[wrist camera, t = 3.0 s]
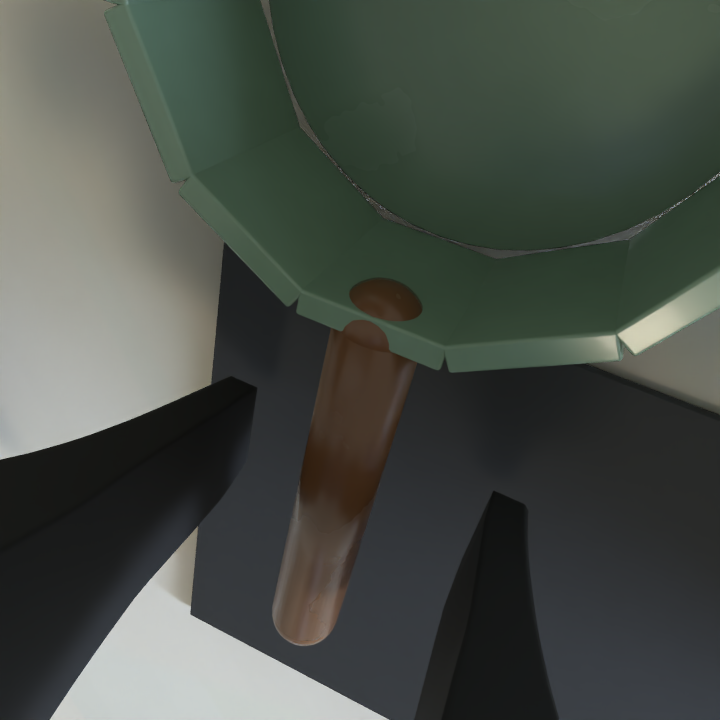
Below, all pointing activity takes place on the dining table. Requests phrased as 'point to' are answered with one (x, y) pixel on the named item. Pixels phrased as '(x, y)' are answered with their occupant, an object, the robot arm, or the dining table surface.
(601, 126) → the frying pan
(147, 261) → the dining table surface
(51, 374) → the dining table surface
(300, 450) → the mat
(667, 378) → the dining table surface
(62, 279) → the dining table surface
